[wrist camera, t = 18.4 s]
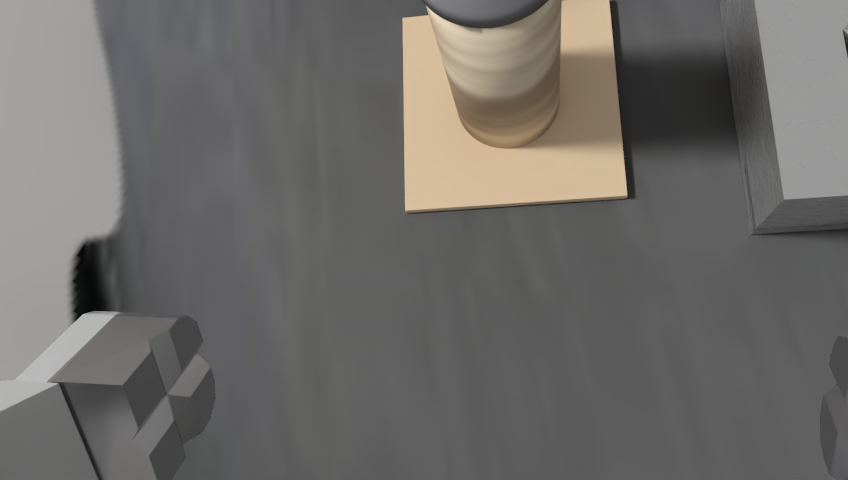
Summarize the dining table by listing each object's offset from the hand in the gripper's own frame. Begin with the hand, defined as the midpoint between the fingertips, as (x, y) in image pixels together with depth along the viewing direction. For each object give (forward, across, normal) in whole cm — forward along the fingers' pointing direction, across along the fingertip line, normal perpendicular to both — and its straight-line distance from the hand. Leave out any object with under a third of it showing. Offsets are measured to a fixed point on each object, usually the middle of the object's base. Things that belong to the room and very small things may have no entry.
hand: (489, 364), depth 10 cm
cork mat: (+27, +2, +6) cm, 27 cm away
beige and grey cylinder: (+26, +3, +5) cm, 27 cm away
